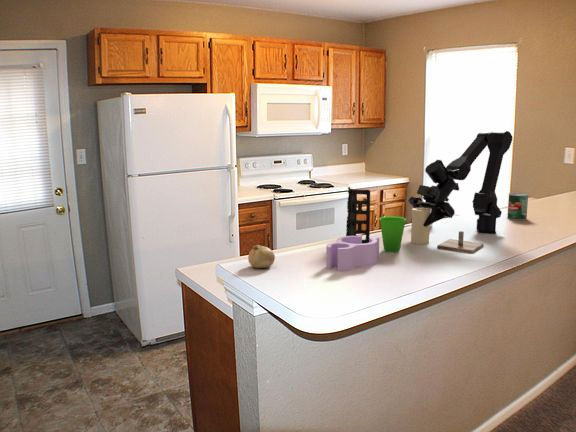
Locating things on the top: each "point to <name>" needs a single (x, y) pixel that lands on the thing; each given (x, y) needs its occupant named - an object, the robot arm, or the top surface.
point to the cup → (392, 232)
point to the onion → (261, 257)
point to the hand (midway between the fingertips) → (417, 224)
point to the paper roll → (420, 226)
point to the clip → (352, 253)
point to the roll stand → (460, 245)
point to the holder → (353, 213)
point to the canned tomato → (517, 206)
